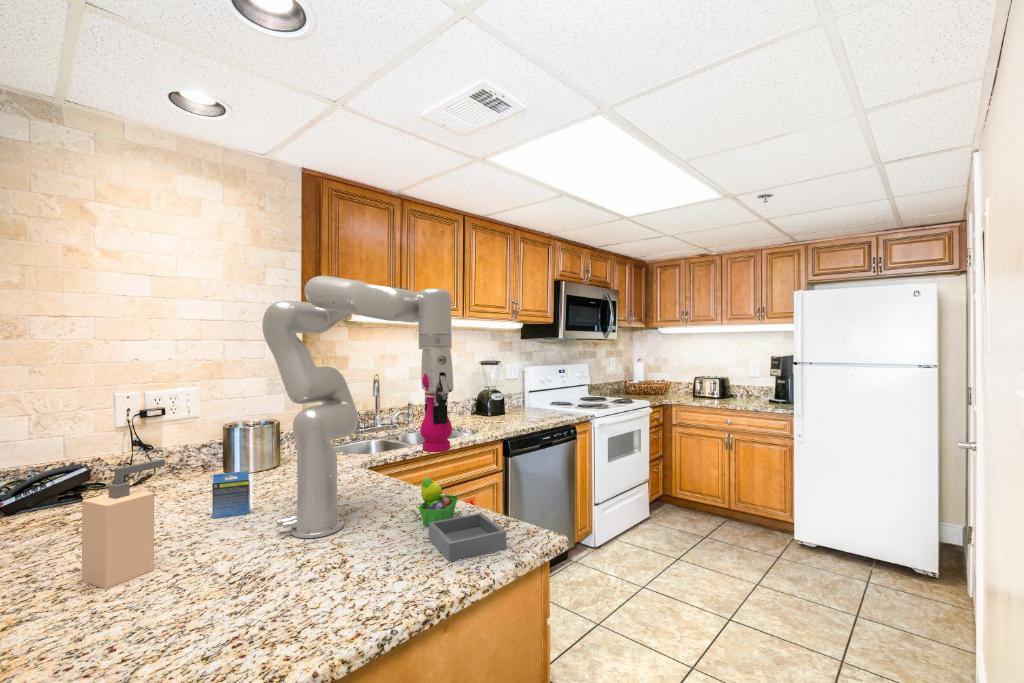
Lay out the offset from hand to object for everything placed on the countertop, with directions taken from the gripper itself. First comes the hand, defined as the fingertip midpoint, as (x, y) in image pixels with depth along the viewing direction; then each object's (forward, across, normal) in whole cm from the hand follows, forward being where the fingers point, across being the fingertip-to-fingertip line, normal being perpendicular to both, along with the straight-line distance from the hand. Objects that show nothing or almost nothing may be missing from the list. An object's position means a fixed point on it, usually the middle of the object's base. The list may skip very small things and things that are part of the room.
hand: (436, 420), depth 107 cm
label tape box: (+29, +49, +44) cm, 72 cm away
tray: (+30, +1, -7) cm, 31 cm away
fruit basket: (+30, +19, -6) cm, 36 cm away
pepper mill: (+7, 0, 0) cm, 7 cm away
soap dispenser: (+29, +21, +60) cm, 70 cm away
